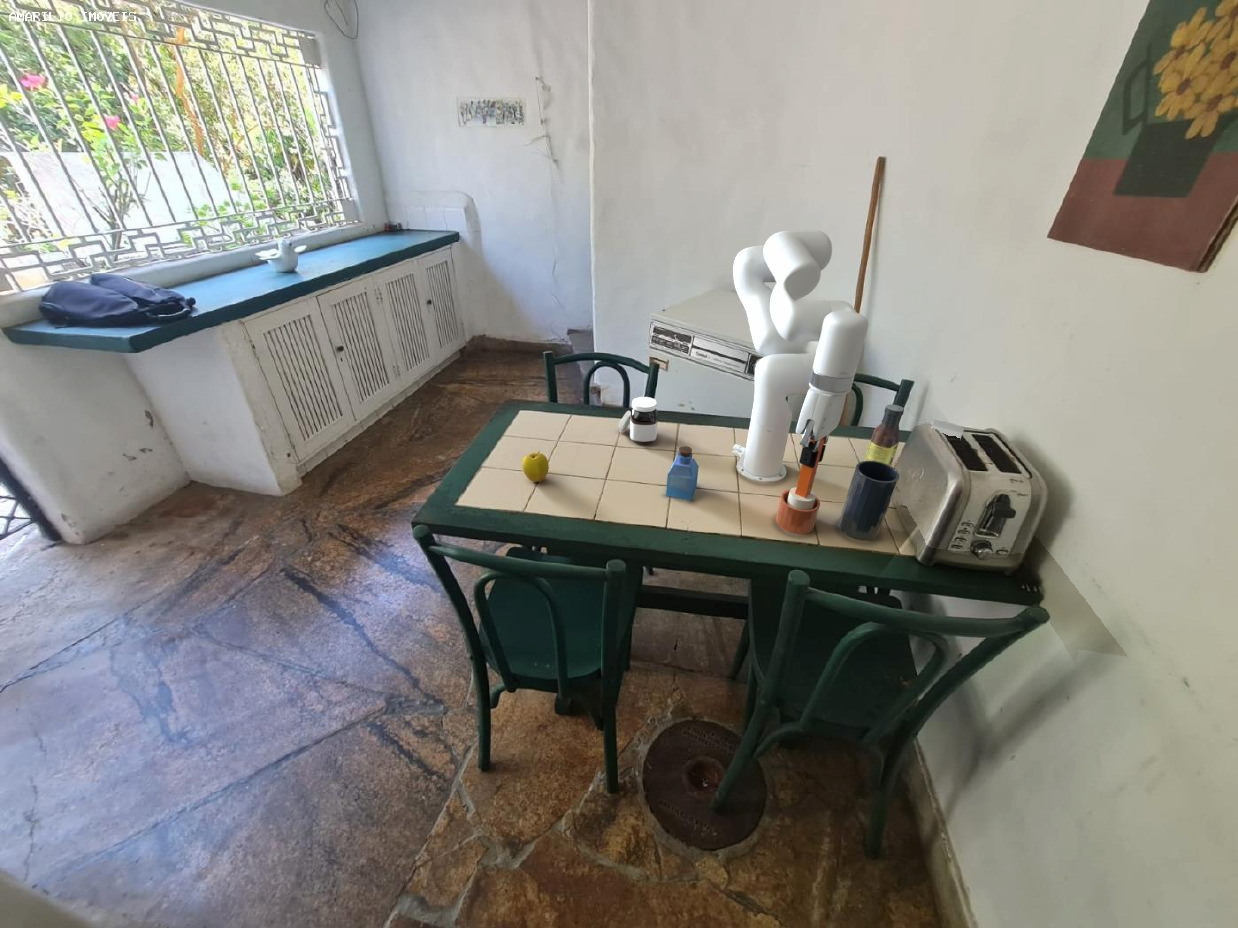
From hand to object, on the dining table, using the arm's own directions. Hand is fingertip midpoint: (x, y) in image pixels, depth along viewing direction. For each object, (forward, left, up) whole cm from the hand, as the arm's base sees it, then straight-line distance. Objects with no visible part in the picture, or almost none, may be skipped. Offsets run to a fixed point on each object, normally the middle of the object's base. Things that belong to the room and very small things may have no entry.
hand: (810, 461), depth 106 cm
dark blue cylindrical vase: (+11, +8, -17) cm, 22 cm away
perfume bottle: (-26, -8, -17) cm, 32 cm away
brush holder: (0, 0, -17) cm, 17 cm away
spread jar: (-52, +4, -17) cm, 55 cm away
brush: (0, 0, -15) cm, 15 cm away
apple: (-55, -30, -17) cm, 65 cm away
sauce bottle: (+5, +32, -17) cm, 37 cm away
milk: (+17, +28, -17) cm, 37 cm away
